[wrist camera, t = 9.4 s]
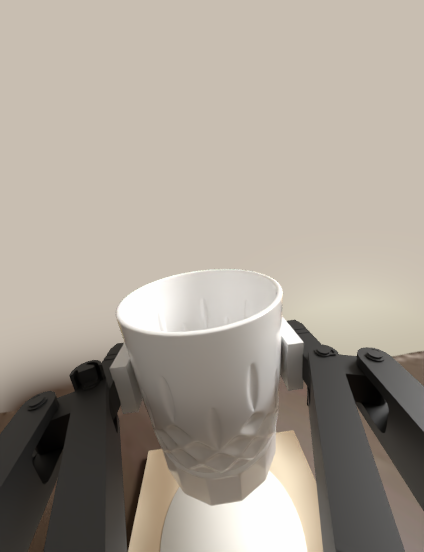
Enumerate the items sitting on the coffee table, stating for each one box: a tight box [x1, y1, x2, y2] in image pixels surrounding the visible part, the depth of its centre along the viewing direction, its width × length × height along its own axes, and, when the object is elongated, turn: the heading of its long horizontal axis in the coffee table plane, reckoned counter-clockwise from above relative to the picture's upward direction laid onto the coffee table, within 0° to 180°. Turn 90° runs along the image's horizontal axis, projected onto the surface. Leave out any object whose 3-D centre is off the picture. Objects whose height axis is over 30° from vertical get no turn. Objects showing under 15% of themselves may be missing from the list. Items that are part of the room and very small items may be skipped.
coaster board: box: [128, 430, 323, 552], centre depth 17 cm, size 16×14×1 cm
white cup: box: [116, 269, 283, 506], centre depth 12 cm, size 8×8×10 cm
